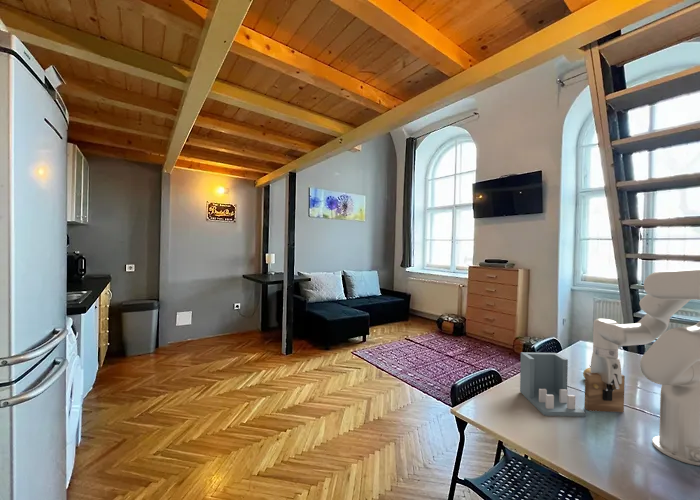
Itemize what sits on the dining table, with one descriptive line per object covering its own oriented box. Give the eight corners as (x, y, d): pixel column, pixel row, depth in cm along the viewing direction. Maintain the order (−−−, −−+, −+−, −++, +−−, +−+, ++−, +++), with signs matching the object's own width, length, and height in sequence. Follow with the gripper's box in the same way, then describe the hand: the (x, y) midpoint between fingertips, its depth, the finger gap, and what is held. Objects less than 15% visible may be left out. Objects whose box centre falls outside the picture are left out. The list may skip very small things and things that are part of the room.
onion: (608, 383, 143) (608, 368, 143) (598, 387, 139) (599, 371, 139) (588, 377, 150) (589, 362, 150) (579, 380, 147) (579, 365, 147)
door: (626, 413, 118) (626, 377, 118) (590, 412, 119) (591, 376, 118) (618, 408, 121) (619, 373, 121) (584, 407, 122) (585, 372, 122)
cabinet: (585, 416, 116) (586, 370, 115) (544, 415, 117) (545, 369, 116) (555, 393, 134) (556, 352, 133) (520, 392, 135) (520, 352, 134)
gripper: (633, 359, 112) (632, 409, 112) (599, 344, 128) (598, 388, 128) (611, 359, 112) (610, 409, 113) (580, 344, 128) (579, 388, 129)
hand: (604, 397), depth 120 cm, fingers closed on door, 2 cm apart
